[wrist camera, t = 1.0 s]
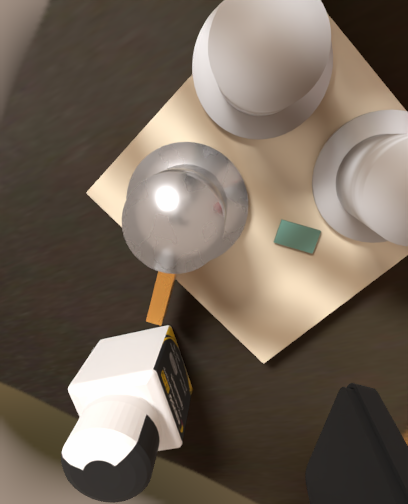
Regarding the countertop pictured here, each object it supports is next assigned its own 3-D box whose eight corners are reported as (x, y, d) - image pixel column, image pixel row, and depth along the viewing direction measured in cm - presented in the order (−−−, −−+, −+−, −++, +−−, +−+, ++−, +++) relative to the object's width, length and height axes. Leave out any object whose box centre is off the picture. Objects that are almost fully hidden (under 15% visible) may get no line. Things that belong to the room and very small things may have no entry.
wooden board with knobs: (275, -46, 24) (294, -138, 16) (469, 191, 28) (565, 215, 19) (81, 175, 30) (22, 191, 22) (262, 350, 33) (269, 421, 25)
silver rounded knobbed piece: (142, 126, 26) (112, 124, 20) (264, 161, 26) (272, 170, 20) (107, 293, 30) (73, 334, 24) (212, 324, 30) (205, 373, 24)
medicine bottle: (193, 388, 35) (172, 510, 24) (124, 401, 36) (71, 523, 25) (171, 323, 33) (136, 421, 22) (98, 338, 34) (29, 439, 23)
